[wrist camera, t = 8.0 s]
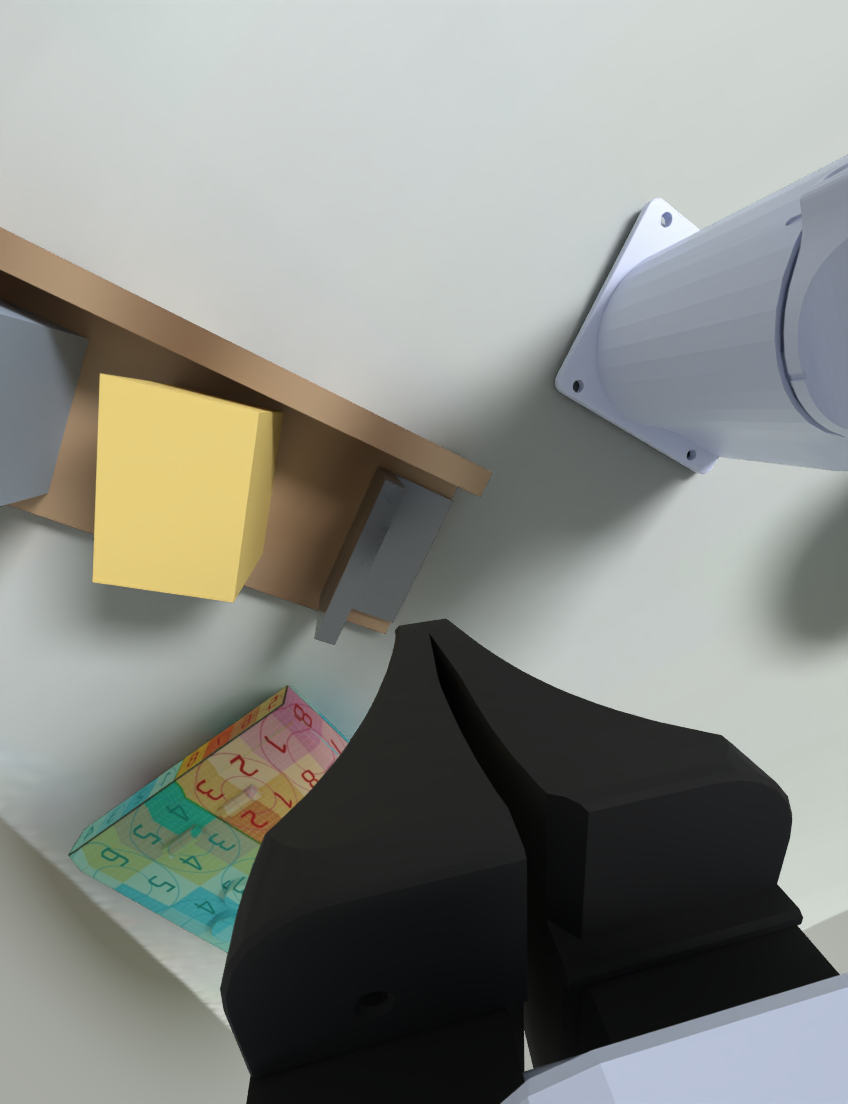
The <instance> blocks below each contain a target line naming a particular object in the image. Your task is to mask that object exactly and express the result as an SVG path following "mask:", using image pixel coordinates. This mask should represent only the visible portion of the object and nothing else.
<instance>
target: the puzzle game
mask: <svg viewBox="0 0 848 1104" xmlns="http://www.w3.org/2000/svg"><path fill="white" fill-rule="evenodd" d="M349 742H350V741H349V740H348V739H347V738H346V737H345V736H344V735H343V734H342V733H340V732H339V731H338V730H337V729H336V728H335V727H334V726H333V725H332V724H331V723H330V722H329V721H328V720H327V719H326V718H325V717H324V716H323V715H322V714H321V713H320V712H319V711H318V710H316V709H315V708H314V707H313V706H312V705H311V704H310V703H309V702H308V701H307V700H306V699H305V698H304V697H303V696H302V695H301V694H300V693H299V692H298V691H297V690H296V689H295V688H294V687H293V686H286V687H284V688H283V689H282V690H280V691H279V692H277V693H276V694H274V695H273V696H272V697H270V698H269V699H267V700H266V701H265V702H263V703H262V704H260V705H259V706H258V707H256V708H255V709H253V710H252V711H251V712H249V713H248V714H246V715H245V716H243V717H242V718H241V719H239V720H238V721H236V722H235V723H234V724H232V725H231V726H229V727H228V728H227V729H225V730H224V731H222V732H221V733H219V734H218V735H217V736H215V737H214V738H212V739H211V740H210V741H208V742H207V743H205V744H204V745H203V746H201V747H200V748H198V749H197V750H196V751H194V752H193V753H191V754H190V755H188V756H187V757H186V758H184V759H183V760H181V761H180V762H179V763H177V764H176V765H174V766H173V767H172V768H170V769H169V770H167V771H166V772H165V773H163V774H162V775H160V776H159V777H157V778H156V779H155V780H153V781H152V782H150V783H149V784H148V785H146V786H145V787H143V788H142V789H141V790H139V791H138V792H136V793H135V794H133V795H132V796H131V797H129V798H128V799H126V800H125V801H124V802H122V803H121V804H119V805H118V806H117V807H115V808H114V809H112V810H111V811H110V812H108V813H107V814H105V815H104V816H102V817H101V818H100V819H98V820H97V821H95V822H94V823H93V824H91V825H90V826H88V827H87V828H86V829H84V831H83V832H82V834H81V836H80V837H79V839H78V840H77V842H76V843H75V845H74V847H73V848H72V850H71V851H70V853H69V855H68V856H69V857H70V858H71V859H72V861H73V862H74V863H75V864H76V866H77V867H78V868H79V869H80V871H81V872H83V873H85V874H87V875H89V876H90V877H92V878H94V879H96V880H98V881H99V882H101V883H103V884H105V885H106V886H108V887H110V888H112V889H114V890H115V891H117V892H119V893H121V894H123V895H124V896H126V897H128V898H130V899H132V900H133V901H135V902H137V903H139V904H141V905H142V906H144V907H146V908H148V909H150V910H151V911H153V912H155V913H157V914H158V915H160V916H162V917H164V918H166V919H167V920H169V921H171V922H173V923H175V924H176V925H178V926H180V927H182V928H184V929H185V930H187V931H189V932H191V933H193V934H194V935H196V936H198V937H200V938H202V939H203V940H205V941H207V942H209V943H211V944H212V945H214V946H216V947H218V948H219V949H221V950H223V951H225V952H227V953H228V950H229V945H230V941H231V936H232V931H233V927H234V922H235V918H236V914H237V910H238V907H239V904H240V901H241V897H242V894H243V891H244V889H245V886H246V883H247V880H248V877H249V874H250V871H251V868H252V865H253V863H254V860H255V858H256V855H257V853H258V850H259V847H260V845H261V843H262V840H263V838H264V835H265V834H266V833H267V832H268V831H269V830H270V829H271V828H272V827H273V826H274V825H275V824H276V823H278V822H279V821H280V820H281V819H282V818H283V817H284V816H285V815H286V814H287V813H288V812H289V811H290V810H291V809H292V808H293V807H294V806H295V805H296V804H297V803H298V802H299V801H300V800H301V799H302V798H303V797H304V796H305V795H306V794H307V793H308V792H309V791H310V790H311V789H312V788H313V787H314V786H315V784H316V783H317V782H318V781H319V780H320V778H321V777H322V776H323V775H324V774H325V772H326V771H327V770H328V769H329V768H330V766H331V765H332V764H333V763H334V762H335V760H336V759H337V758H338V757H339V755H340V754H341V753H342V751H343V750H344V749H345V747H346V746H347V744H348V743H349Z"/></svg>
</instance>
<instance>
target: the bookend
mask: <svg viewBox="0 0 848 1104" xmlns="http://www.w3.org/2000/svg"><path fill="white" fill-rule="evenodd" d="M452 502H453V501H452V500H451V499H448V498H446V497H444V496H442V495H440V494H438V493H435V492H433V491H431V490H429V489H427V488H425V487H422V486H420V485H418V484H416V483H414V482H412V481H409V480H407V479H405V478H403V477H401V476H399V475H396V474H394V473H392V472H390V471H388V470H386V469H383V468H381V467H379V466H377V468H376V471H375V473H374V475H373V477H372V480H371V482H370V484H369V486H368V489H367V491H366V493H365V495H364V498H363V500H362V502H361V504H360V507H359V509H358V511H357V514H356V516H355V518H354V520H353V523H352V525H351V527H350V529H349V532H348V534H347V536H346V538H345V541H344V543H343V545H342V547H341V550H340V552H339V554H338V557H337V559H336V561H335V563H334V566H333V568H332V570H331V572H330V575H329V577H328V579H327V581H326V584H325V586H324V588H323V590H322V593H321V596H320V602H319V609H318V616H317V623H316V630H315V636H314V639H317V640H320V641H323V642H326V643H329V644H333V645H335V643H336V641H337V639H338V637H339V635H340V633H341V631H342V628H343V626H344V624H345V622H346V620H347V618H348V615H349V613H350V611H351V609H355V610H358V611H360V612H363V613H366V614H369V615H372V616H375V617H377V618H380V619H383V620H386V621H389V622H392V623H393V621H394V619H395V617H396V615H397V613H398V611H399V609H400V607H401V605H402V603H403V601H404V599H405V597H406V595H407V593H408V591H409V589H410V587H411V585H412V583H413V581H414V579H415V577H416V575H417V573H418V571H419V569H420V567H421V565H422V563H423V561H424V558H425V556H426V554H427V552H428V550H429V548H430V546H431V544H432V542H433V540H434V538H435V536H436V534H437V532H438V530H439V528H440V526H441V524H442V522H443V520H444V518H445V516H446V514H447V512H448V510H449V508H450V506H451V504H452Z"/></svg>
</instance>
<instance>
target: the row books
mask: <svg viewBox="0 0 848 1104" xmlns="http://www.w3.org/2000/svg"><path fill="white" fill-rule="evenodd" d="M88 341H89V339H88V338H86V337H84V336H82V335H80V334H77V333H75V332H73V331H71V330H69V329H66V328H64V327H62V326H60V325H58V324H56V323H53V322H51V321H49V320H47V319H45V318H42V317H40V316H38V315H36V314H34V313H31V312H29V311H27V310H25V309H23V308H21V307H18V306H16V305H14V304H12V303H10V302H7V301H5V300H3V299H1V298H0V506H3V505H7V504H10V503H14V502H18V501H21V500H25V499H29V498H32V497H36V496H40V495H43V494H47V493H48V492H49V488H50V484H51V481H52V477H53V473H54V469H55V466H56V462H57V458H58V454H59V450H60V447H61V443H62V439H63V435H64V432H65V428H66V424H67V420H68V417H69V413H70V409H71V405H72V402H73V398H74V394H75V390H76V386H77V383H78V379H79V375H80V371H81V368H82V364H83V360H84V356H85V353H86V349H87V345H88Z"/></svg>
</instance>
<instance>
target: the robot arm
mask: <svg viewBox="0 0 848 1104" xmlns="http://www.w3.org/2000/svg"><path fill="white" fill-rule="evenodd" d="M661 216H662V217H664V219H665V223H666V224H665V227H663V226H662V225H661V221H660V219H661ZM575 381H577V382H578V383H579V390H578V391H577V392H575V391H574V390H573V383H574V382H575ZM555 386H556V388H557V390H558V391H559V392H560V393H562V394H564V395H565V396H567V397H569V398H571V399H572V400H574V401H576V402H577V403H579V404H581V405H582V406H584V407H586V408H587V409H589V410H591V411H592V412H594V413H596V414H598V415H599V416H601V417H603V418H604V419H606V420H608V421H609V422H611V423H613V424H614V425H616V426H618V427H619V428H621V429H623V430H624V431H626V432H628V433H630V434H631V435H633V436H635V437H636V438H638V439H640V440H641V441H643V442H645V443H646V444H648V445H650V446H651V447H653V448H655V449H657V450H658V451H660V452H662V453H663V454H665V455H667V456H668V457H670V458H672V459H673V460H675V461H677V462H678V463H680V464H682V465H683V466H685V467H687V468H689V469H690V470H692V471H694V472H696V473H700V474H704V473H707V472H709V471H710V470H711V469H712V467H713V466H714V464H715V463H716V461H717V459H718V458H719V457H725V458H733V459H742V460H750V461H758V462H766V463H774V464H782V465H791V466H799V467H807V468H815V469H823V470H831V471H848V155H846V156H844V157H842V158H840V159H838V160H836V161H834V162H832V163H830V164H828V165H827V166H825V167H823V168H821V169H819V170H817V171H815V172H813V173H811V174H809V175H807V176H805V177H803V178H801V179H799V180H797V181H795V182H793V183H791V184H789V185H788V186H786V187H784V188H782V189H780V190H778V191H776V192H774V193H772V194H770V195H768V196H766V197H764V198H762V199H760V200H758V201H756V202H754V203H752V204H751V205H749V206H747V207H745V208H743V209H741V210H739V211H737V212H735V213H733V214H731V215H729V216H727V217H725V218H723V219H721V220H719V221H717V222H715V223H714V224H712V225H710V226H708V227H706V228H704V229H702V230H699V229H698V228H697V227H696V226H695V225H693V224H692V223H691V222H690V221H689V220H687V219H686V218H685V217H684V216H683V215H681V214H680V213H679V212H678V211H676V210H675V209H674V208H673V207H672V206H670V205H669V204H668V203H667V202H666V201H664V200H663V199H661V198H655V199H653V200H651V201H650V202H648V203H647V204H646V205H645V206H644V207H643V209H642V211H641V213H640V214H639V216H638V218H637V220H636V222H635V224H634V226H633V228H632V230H631V232H630V234H629V236H628V238H627V240H626V242H625V244H624V246H623V248H622V249H621V251H620V253H619V255H618V257H617V259H616V261H615V263H614V265H613V267H612V269H611V271H610V273H609V275H608V277H607V279H606V281H605V283H604V284H603V286H602V288H601V290H600V292H599V294H598V296H597V298H596V300H595V302H594V304H593V306H592V308H591V310H590V312H589V314H588V316H587V318H586V319H585V321H584V323H583V325H582V327H581V329H580V331H579V333H578V335H577V337H576V339H575V341H574V343H573V345H572V347H571V349H570V351H569V353H568V354H567V356H566V358H565V360H564V362H563V364H562V366H561V368H560V370H559V372H558V374H557V376H556V379H555ZM689 450H690V456H689V457H688V458H687V456H686V455H687V453H688V452H689ZM395 635H396V636H395V644H394V649H393V653H392V656H391V660H390V663H389V666H388V669H387V672H386V675H385V677H384V679H383V682H382V684H381V686H380V689H379V691H378V693H377V696H376V698H375V700H374V702H373V704H372V706H371V707H370V709H369V711H368V713H367V715H366V716H365V718H364V720H363V722H362V723H361V725H360V726H359V728H358V729H357V731H356V732H355V734H354V735H353V737H352V738H351V740H350V742H349V743H348V744H347V746H346V747H345V749H344V750H343V751H342V753H341V754H340V755H339V757H338V758H337V759H336V760H335V762H334V763H333V764H332V765H331V766H330V768H329V769H328V770H327V771H326V772H325V774H324V775H323V776H322V777H321V778H320V780H319V781H318V782H317V783H316V784H315V786H314V787H313V788H312V789H311V790H310V791H309V792H308V793H307V794H306V795H305V796H304V797H303V798H302V799H301V800H300V801H299V802H298V803H297V804H296V805H295V806H294V807H293V808H292V809H291V810H290V811H289V812H288V813H287V814H286V815H285V816H284V817H283V818H282V819H281V820H280V821H279V822H278V823H276V824H275V825H274V826H273V827H272V828H271V829H270V830H269V831H268V832H267V833H266V834H265V835H264V838H263V840H262V843H261V845H260V847H259V850H258V853H257V855H256V858H255V860H254V863H253V865H252V868H251V871H250V874H249V877H248V880H247V883H246V886H245V889H244V891H243V894H242V897H241V901H240V904H239V907H238V910H237V914H236V918H235V922H234V927H233V931H232V936H231V941H230V945H229V950H228V955H227V959H226V964H225V969H224V973H223V978H222V983H221V987H220V991H221V997H222V1003H223V1009H224V1012H225V1015H226V1017H227V1019H228V1022H229V1024H230V1027H231V1029H232V1032H233V1034H234V1036H235V1039H236V1041H237V1044H238V1046H239V1048H240V1051H241V1053H242V1056H243V1058H244V1061H245V1063H246V1065H247V1068H248V1070H249V1073H250V1075H251V1076H250V1083H249V1090H248V1096H247V1103H246V1104H848V973H845V974H842V975H840V974H839V973H838V972H837V971H836V970H835V969H834V968H833V966H832V965H831V964H830V963H829V962H828V961H827V960H826V958H825V957H824V956H823V955H822V954H821V952H820V951H819V950H818V949H817V948H816V947H815V946H814V945H813V943H812V942H811V941H810V940H809V939H808V937H806V935H805V934H804V933H803V932H802V931H801V929H800V928H799V927H798V926H797V925H800V924H801V923H802V919H803V916H802V914H801V912H800V909H799V908H798V907H797V906H796V905H795V903H794V902H793V901H792V900H791V899H790V898H789V897H788V896H787V895H786V893H785V892H784V891H783V890H782V889H781V888H780V887H779V886H778V885H777V882H778V879H779V875H780V871H781V868H782V864H783V861H784V857H785V854H786V850H787V846H788V843H789V839H790V834H791V826H792V812H791V808H790V804H789V799H788V796H787V795H786V794H785V792H784V791H783V790H782V789H781V787H780V786H779V785H778V784H777V783H776V782H775V781H774V780H773V779H772V778H771V777H769V776H768V775H767V774H766V773H765V772H764V771H763V770H761V769H760V768H759V767H758V766H757V765H756V764H755V763H753V762H752V761H751V760H750V759H749V758H748V757H747V756H745V755H744V754H743V753H742V752H741V751H740V750H739V749H737V748H736V747H735V746H734V745H733V744H732V743H730V742H729V741H728V740H727V739H725V738H724V737H723V736H722V735H718V734H713V733H708V732H703V731H699V730H694V729H689V728H685V727H680V726H675V725H670V724H666V723H661V722H657V721H653V720H649V719H646V718H642V717H639V716H635V715H631V714H628V713H624V712H621V711H618V710H615V709H611V708H608V707H605V706H602V705H599V704H596V703H594V702H591V701H588V700H586V699H583V698H580V697H578V696H575V695H572V694H570V693H567V692H565V691H563V690H560V689H558V688H556V687H553V686H551V685H549V684H547V683H545V682H543V681H541V680H539V679H537V678H535V677H533V676H531V675H529V674H527V673H525V672H523V671H521V670H519V669H518V668H516V667H514V666H513V665H511V664H509V663H508V662H506V661H504V660H503V659H501V658H499V657H498V656H496V655H495V654H493V653H492V652H490V651H489V650H487V649H486V648H484V647H483V646H482V645H480V644H479V643H477V642H476V641H475V640H473V639H472V638H471V637H469V636H468V635H467V634H465V633H464V632H463V631H462V630H460V629H459V628H458V627H456V626H455V625H454V624H453V623H451V622H450V621H449V620H447V619H440V620H433V621H427V622H421V623H414V624H408V625H401V626H399V627H398V628H397V629H396V630H395ZM524 1031H525V1035H526V1038H527V1043H528V1047H529V1051H530V1055H531V1060H532V1064H533V1068H534V1069H532V1070H528V1071H525V1072H524Z"/></svg>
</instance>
